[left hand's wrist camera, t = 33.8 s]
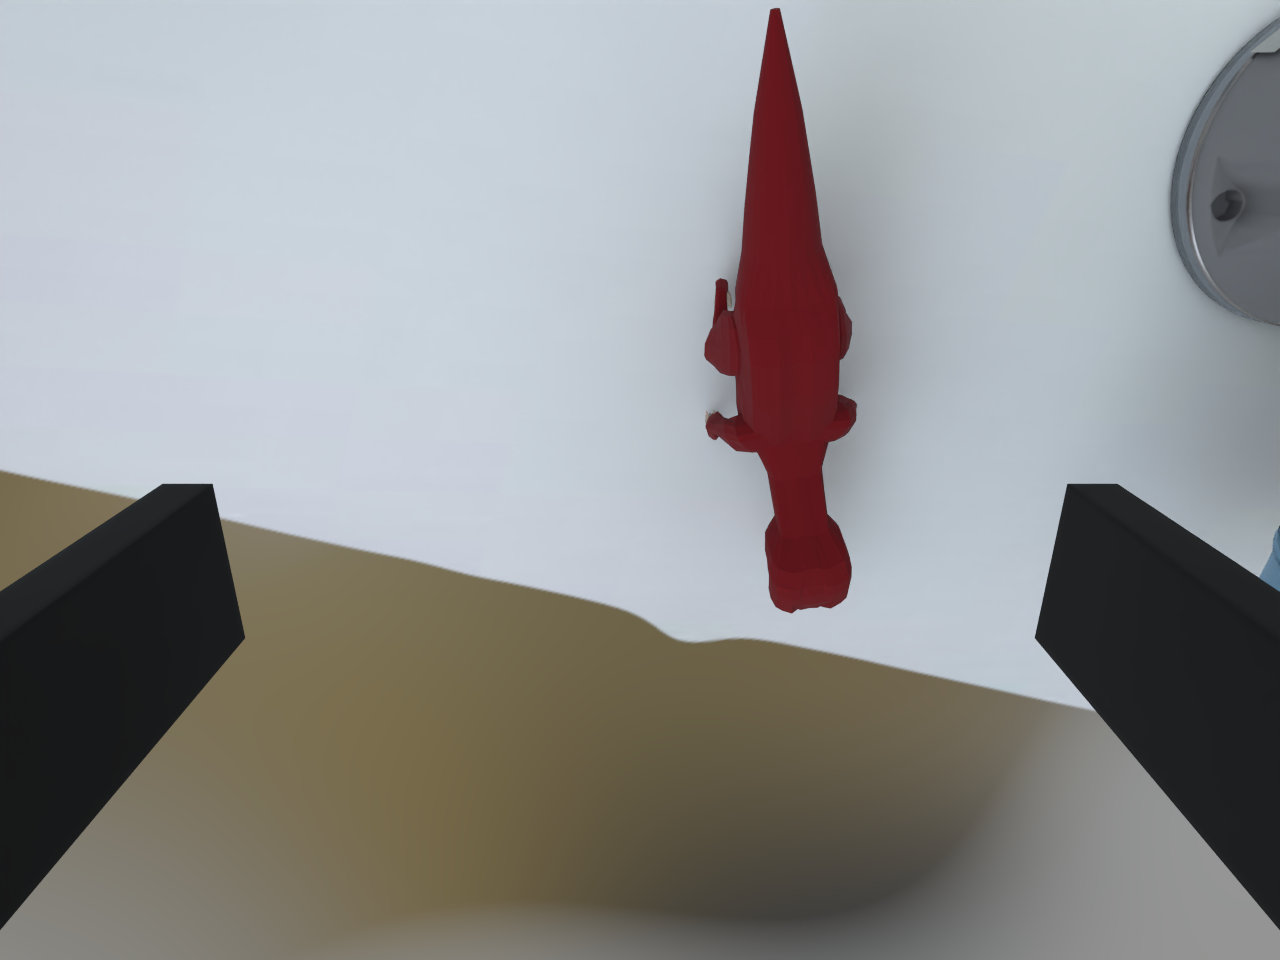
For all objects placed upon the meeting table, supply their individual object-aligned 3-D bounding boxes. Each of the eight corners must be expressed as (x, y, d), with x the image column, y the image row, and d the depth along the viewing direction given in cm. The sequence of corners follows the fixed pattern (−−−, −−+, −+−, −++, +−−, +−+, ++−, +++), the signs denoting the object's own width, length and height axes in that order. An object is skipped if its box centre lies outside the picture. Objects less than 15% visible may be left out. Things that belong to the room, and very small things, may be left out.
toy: (718, 553, 47) (740, 671, 37) (654, 45, 36) (663, 26, 26) (842, 536, 47) (897, 651, 37) (818, 17, 35) (889, -13, 26)
